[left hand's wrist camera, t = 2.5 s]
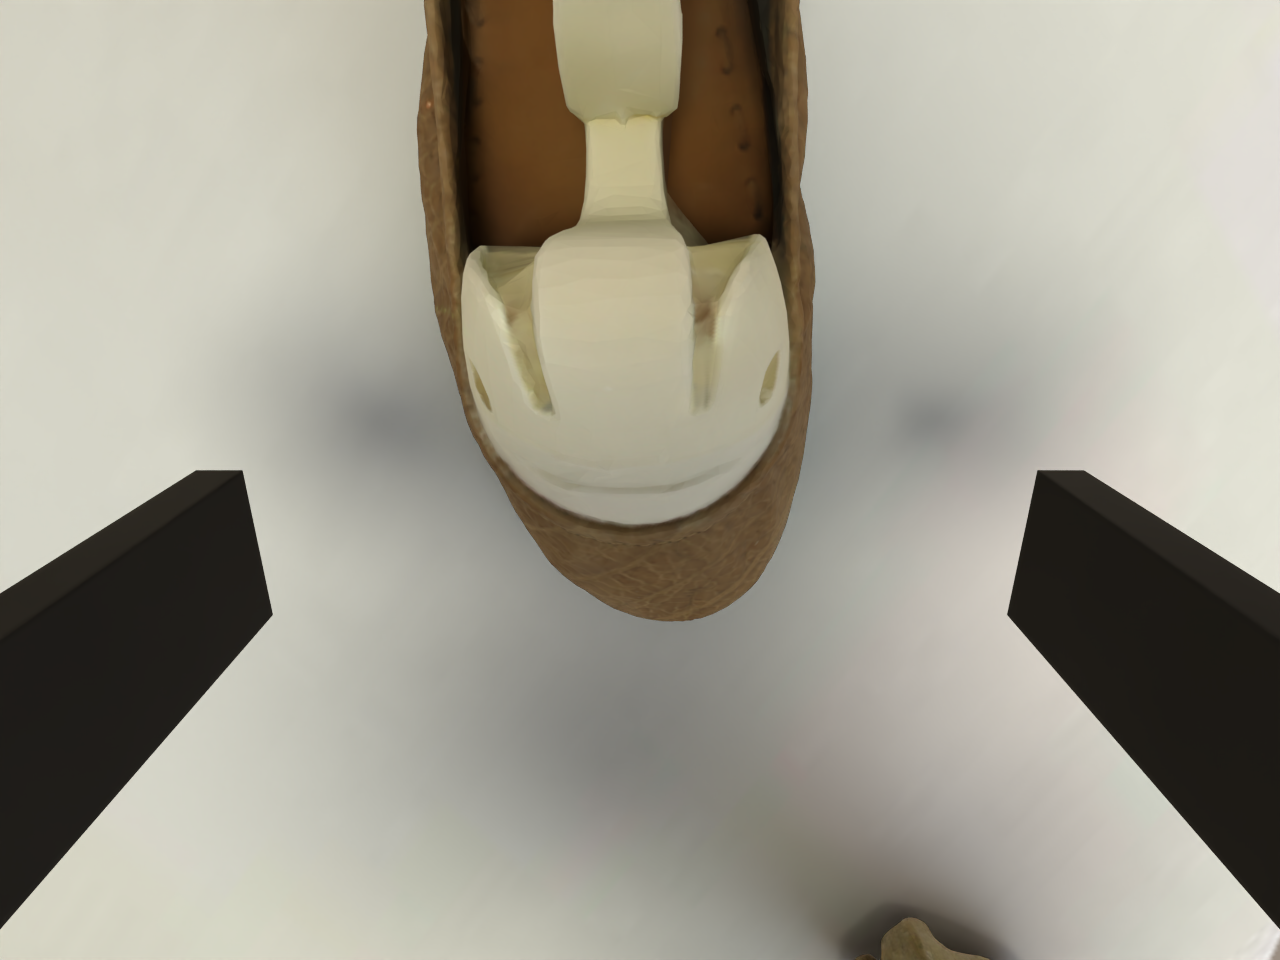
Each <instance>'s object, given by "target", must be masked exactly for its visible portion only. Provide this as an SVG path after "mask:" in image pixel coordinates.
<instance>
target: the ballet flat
mask: <svg viewBox="0 0 1280 960" xmlns="http://www.w3.org/2000/svg"><path fill="white" fill-rule="evenodd" d="M799 3H800V0H424V9H425V18H426V26H427V34H428V36H427V41H426V47H425V53H424V63H423V73H422V82H421V91H420V102H419V112H418V117H417V137H418V154H419V171H420V180H421V194H422V202H423V206H424V211H425V219H426V235H427V242H428V250H429V259H430V272H431V283H432V289H433V294H434V304H435V313H436V316H437V319H438V322H439V327H440V331H441V336H442V338H443V341H444V344H445V347H446V350H447V352H448V355H449V359H450V362H451V365H452V368H453V371H454V375H455V379H456V382H457V386H458V390H459V394H460V396H461V400H462V404H463V408H464V412H465V416H466V419H467V422H468V425H469V427H470V430H471V432H472V434H473V437H474V438H475V440H476V441H477V443H478V444H479V446H480V449H481V451H482V453H483V455H484V457H485V459H486V460H487V462H488V463H489V465H490V466H491V468H492V469H493V470H494V471H495V473H496V475H497V476H498V478H499V480H500V482H501V484H502V486H503V488H504V490H505V491H506V493H507V496H508V498H509V500H510V502H511V504H512V506H513V508H514V509H515V511H516V513H517V514H518V516H519V517H520V519H521V520H522V522H523V523H524V525H525V527H526V529H527V530H528V531H529V533H530V534H531V536H532V537H533V538H534V540H535V541H536V543H537V544H538V546H539V547H540V549H541V550H542V552H543V553H544V555H545V556H546V558H547V559H548V560H549V562H550V563H551V564H552V565H553V566H554V567H555V568H556V569H557V570H558V571H559V572H561V573H562V574H563V575H564V576H565V577H566V578H568V579H569V580H570V581H572V582H573V583H574V584H576V585H577V586H579V587H581V588H582V589H584V590H586V591H587V592H588V593H590V594H591V595H593V596H594V597H596V598H597V599H599V600H600V601H602V602H604V603H605V604H607V605H609V606H611V607H612V608H614V609H617V610H620V611H623V612H625V613H628V614H631V615H634V616H636V617H641V618H646V619H651V620H658V621H686V620H693V619H698V618H703V617H706V616H708V615H711V614H714V613H716V612H718V611H720V610H722V609H724V608H726V607H727V606H729V605H730V604H732V603H733V602H734V601H736V600H737V599H738V598H740V597H741V596H742V595H743V594H744V593H746V592H747V591H748V590H749V589H750V588H751V587H752V586H753V585H754V584H755V583H756V582H757V580H758V579H759V577H760V575H761V574H762V573H763V571H764V569H765V567H766V565H767V564H768V562H769V561H770V559H771V558H772V556H773V554H774V552H775V549H776V547H777V545H778V543H779V541H780V538H781V536H782V533H783V531H784V528H785V525H786V522H787V519H788V516H789V512H790V508H791V504H792V500H793V496H794V493H795V489H796V486H797V482H798V479H799V474H800V469H801V464H802V459H803V454H804V447H805V439H806V431H807V425H808V417H809V411H810V404H811V392H812V371H811V361H812V340H811V339H812V320H813V303H812V300H813V294H814V288H815V265H814V250H813V245H812V240H811V235H810V228H809V222H808V219H807V215H806V210H805V205H804V201H803V199H802V194H801V189H800V181H801V175H802V169H803V163H804V157H805V143H806V133H807V122H808V109H807V97H808V87H807V73H806V57H805V49H804V42H803V33H802V25H801V17H800V11H799Z"/></svg>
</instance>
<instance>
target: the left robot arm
mask: <svg viewBox="0 0 1280 960" xmlns="http://www.w3.org/2000/svg"><path fill="white" fill-rule="evenodd" d="M272 615H273V613H272V609H271V604H270V599H269V594H268V590H267V585H266V580H265V575H264V570H263V566H262V561H261V556H260V551H259V547H258V542H257V537H256V532H255V528H254V523H253V518H252V513H251V509H250V504H249V499H248V494H247V490H246V485H245V480H244V475H243V471H242V470H196V471H194V472H193V473H191V474H190V475H188V476H186V477H185V478H183V479H182V480H180V481H178V482H177V483H175V484H174V485H172V486H171V487H169V488H167V489H166V490H164V491H163V492H161V493H159V494H158V495H156V496H155V497H153V498H151V499H150V500H148V501H147V502H145V503H143V504H142V505H140V506H139V507H137V508H136V509H134V510H132V511H131V512H129V513H128V514H126V515H124V516H123V517H121V518H120V519H118V520H116V521H115V522H113V523H112V524H110V525H108V526H107V527H105V528H104V529H102V530H101V531H99V532H97V533H96V534H94V535H93V536H91V537H89V538H88V539H86V540H85V541H83V542H81V543H80V544H78V545H77V546H75V547H73V548H72V549H70V550H69V551H67V552H66V553H64V554H62V555H61V556H59V557H58V558H56V559H54V560H53V561H51V562H50V563H48V564H46V565H45V566H43V567H42V568H40V569H38V570H37V571H35V572H34V573H32V574H31V575H29V576H27V577H26V578H24V579H23V580H21V581H19V582H18V583H16V584H15V585H13V586H11V587H10V588H8V589H7V590H5V591H3V592H2V593H0V929H1V928H2V927H3V925H4V924H5V923H6V922H7V921H8V920H9V918H10V917H11V916H12V915H13V914H14V913H15V912H16V910H17V909H18V908H19V907H20V906H21V905H22V903H23V902H24V901H25V900H26V899H27V898H28V897H29V895H30V894H31V893H32V892H33V891H34V890H35V888H36V887H37V886H38V885H39V884H40V883H41V882H42V880H43V879H44V878H45V877H46V876H47V875H48V873H49V872H50V871H51V870H52V869H53V868H54V867H55V865H56V864H57V863H58V862H59V861H60V860H61V858H62V857H63V856H64V855H65V854H66V853H67V852H68V850H69V849H70V848H71V847H72V846H73V845H74V844H75V842H76V841H77V840H78V839H79V838H80V837H81V835H82V834H83V833H84V832H85V831H86V830H87V829H88V827H89V826H90V825H91V824H92V823H93V822H94V820H95V819H96V818H97V817H98V816H99V815H100V814H101V812H102V811H103V810H104V809H105V808H106V807H107V805H108V804H109V803H110V802H111V801H112V800H113V799H114V797H115V796H116V795H117V794H118V793H119V792H120V790H121V789H122V788H123V787H124V786H125V785H126V784H127V782H128V781H129V780H130V779H131V778H132V777H133V775H134V774H135V773H136V772H137V771H138V770H139V769H140V767H141V766H142V765H143V764H144V763H145V762H146V760H147V759H148V758H149V757H150V756H151V755H152V754H153V752H154V751H155V750H156V749H157V748H158V747H159V745H160V744H161V743H162V742H163V741H164V740H165V739H166V737H167V736H168V735H169V734H170V733H171V732H172V730H173V729H174V728H175V727H176V726H177V725H178V724H179V722H180V721H181V720H182V719H183V718H184V717H185V716H186V714H187V713H188V712H189V711H190V710H191V709H192V707H193V706H194V705H195V704H196V703H197V702H198V701H199V699H200V698H201V697H202V696H203V695H204V694H205V692H206V691H207V690H208V689H209V688H210V687H211V686H212V684H213V683H214V682H215V681H216V680H217V679H218V677H219V676H220V675H221V674H222V673H223V672H224V671H225V669H226V668H227V667H228V666H229V665H230V664H231V662H232V661H233V660H234V659H235V658H236V657H237V656H238V654H239V653H240V652H241V651H242V650H243V649H244V647H245V646H246V645H247V644H248V643H249V642H250V641H251V639H252V638H253V637H254V636H255V635H256V634H257V632H258V631H259V630H260V629H261V628H262V627H263V626H264V624H265V623H266V622H267V621H268V620H269V619H270V617H271V616H272ZM1007 615H1008V616H1009V617H1010V619H1011V620H1012V621H1013V622H1014V623H1015V624H1016V626H1017V627H1018V628H1019V629H1020V630H1021V631H1022V632H1023V634H1024V635H1025V636H1026V637H1027V638H1028V639H1029V641H1030V642H1031V643H1032V644H1033V645H1034V646H1035V647H1036V649H1037V650H1038V651H1039V652H1040V653H1041V654H1042V656H1043V657H1044V658H1045V659H1046V660H1047V661H1048V662H1049V664H1050V665H1051V666H1052V667H1053V668H1054V669H1055V671H1056V672H1057V673H1058V674H1059V675H1060V676H1061V677H1062V679H1063V680H1064V681H1065V682H1066V683H1067V684H1068V686H1069V687H1070V688H1071V689H1072V690H1073V691H1074V692H1075V694H1076V695H1077V696H1078V697H1079V698H1080V699H1081V701H1082V702H1083V703H1084V704H1085V705H1086V706H1087V707H1088V709H1089V710H1090V711H1091V712H1092V713H1093V714H1094V716H1095V717H1096V718H1097V719H1098V720H1099V721H1100V722H1101V724H1102V725H1103V726H1104V727H1105V728H1106V729H1107V731H1108V732H1109V733H1110V734H1111V735H1112V736H1113V737H1114V739H1115V740H1116V741H1117V742H1118V743H1119V744H1120V745H1121V747H1122V748H1123V749H1124V750H1125V751H1126V752H1127V754H1128V755H1129V756H1130V757H1131V758H1132V759H1133V760H1134V762H1135V763H1136V764H1137V765H1138V766H1139V767H1140V769H1141V770H1142V771H1143V772H1144V773H1145V774H1146V775H1147V777H1148V778H1149V779H1150V780H1151V781H1152V782H1153V784H1154V785H1155V786H1156V787H1157V788H1158V789H1159V790H1160V792H1161V793H1162V794H1163V795H1164V796H1165V797H1166V799H1167V800H1168V801H1169V802H1170V803H1171V804H1172V805H1173V807H1174V808H1175V809H1176V810H1177V811H1178V812H1179V814H1180V815H1181V816H1182V817H1183V818H1184V819H1185V820H1186V822H1187V823H1188V824H1189V825H1190V826H1191V827H1192V829H1193V830H1194V831H1195V832H1196V833H1197V834H1198V835H1199V837H1200V838H1201V839H1202V840H1203V841H1204V842H1205V844H1206V845H1207V846H1208V847H1209V848H1210V849H1211V850H1212V852H1213V853H1214V854H1215V855H1216V856H1217V857H1218V858H1219V860H1220V861H1221V862H1222V863H1223V864H1224V865H1225V867H1226V868H1227V869H1228V870H1229V871H1230V872H1231V873H1232V875H1233V876H1234V877H1235V878H1236V879H1237V880H1238V882H1239V883H1240V884H1241V885H1242V886H1243V887H1244V888H1245V890H1246V891H1247V892H1248V893H1249V894H1250V895H1251V897H1252V898H1253V899H1254V900H1255V901H1256V902H1257V903H1258V905H1259V906H1260V907H1261V908H1262V909H1263V910H1264V912H1265V913H1266V914H1267V915H1268V916H1269V917H1270V918H1271V920H1272V921H1273V922H1274V923H1275V924H1276V925H1277V927H1278V928H1279V929H1280V593H1278V592H1277V591H1275V590H1273V589H1272V588H1270V587H1269V586H1267V585H1265V584H1264V583H1262V582H1261V581H1259V580H1257V579H1256V578H1254V577H1253V576H1251V575H1249V574H1248V573H1246V572H1245V571H1243V570H1242V569H1240V568H1238V567H1237V566H1235V565H1234V564H1232V563H1230V562H1229V561H1227V560H1226V559H1224V558H1222V557H1221V556H1219V555H1218V554H1216V553H1214V552H1213V551H1211V550H1210V549H1208V548H1207V547H1205V546H1203V545H1202V544H1200V543H1199V542H1197V541H1195V540H1194V539H1192V538H1191V537H1189V536H1187V535H1186V534H1184V533H1183V532H1181V531H1179V530H1178V529H1176V528H1175V527H1173V526H1172V525H1170V524H1168V523H1167V522H1165V521H1164V520H1162V519H1160V518H1159V517H1157V516H1156V515H1154V514H1152V513H1151V512H1149V511H1148V510H1146V509H1144V508H1143V507H1141V506H1140V505H1138V504H1137V503H1135V502H1133V501H1132V500H1130V499H1129V498H1127V497H1125V496H1124V495H1122V494H1121V493H1119V492H1117V491H1116V490H1114V489H1113V488H1111V487H1109V486H1108V485H1106V484H1105V483H1103V482H1102V481H1100V480H1098V479H1097V478H1095V477H1094V476H1092V475H1090V474H1089V473H1087V472H1086V471H1084V470H1038V471H1037V475H1036V480H1035V485H1034V490H1033V494H1032V499H1031V504H1030V509H1029V513H1028V518H1027V523H1026V528H1025V532H1024V537H1023V542H1022V547H1021V551H1020V556H1019V561H1018V566H1017V570H1016V575H1015V580H1014V585H1013V590H1012V594H1011V599H1010V604H1009V609H1008V613H1007Z"/></svg>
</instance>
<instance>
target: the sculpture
mask: <svg viewBox="0 0 1280 960" xmlns="http://www.w3.org/2000/svg"><path fill="white" fill-rule="evenodd" d="M855 960H877V959H876V958H874V957H873V956H872V955H870V954H865V955H860V956H859V957H857V958H856V959H855ZM881 960H990V959H988V958H985V957H982V956H979V955H970V954H965V953H960V952H957V951H952V950H949V949H948V948H946V947H945V946H944V945H942V944H941V943H940V942H939V941H937V940H936V939H935V938H934V937H933V935H932V933H931V931H930V929H929V928H928V926H927V925H926V924H925V923H924V922H923V921H921V920H919V919H917V918H912V917H908V918H905V919H903V920H902V921H901V922H899V923H898V924H897V925H896V926H894V927H893V928H891V929H890V930H889V931H888V932H887V933H885V935H884V936H883V938H882V940H881Z"/></svg>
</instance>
